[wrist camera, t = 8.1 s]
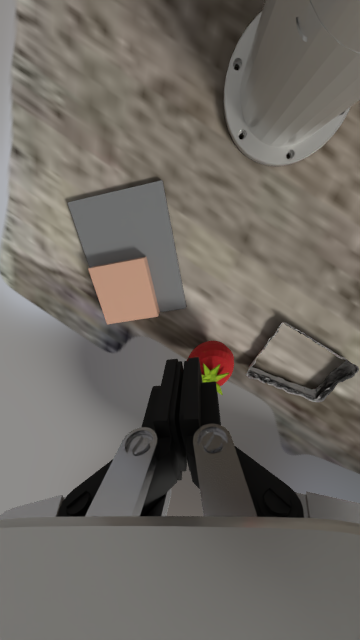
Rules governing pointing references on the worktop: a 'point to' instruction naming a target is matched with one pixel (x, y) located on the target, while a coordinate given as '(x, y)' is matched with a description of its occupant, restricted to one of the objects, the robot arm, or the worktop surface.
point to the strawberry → (214, 362)
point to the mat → (132, 236)
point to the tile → (125, 290)
